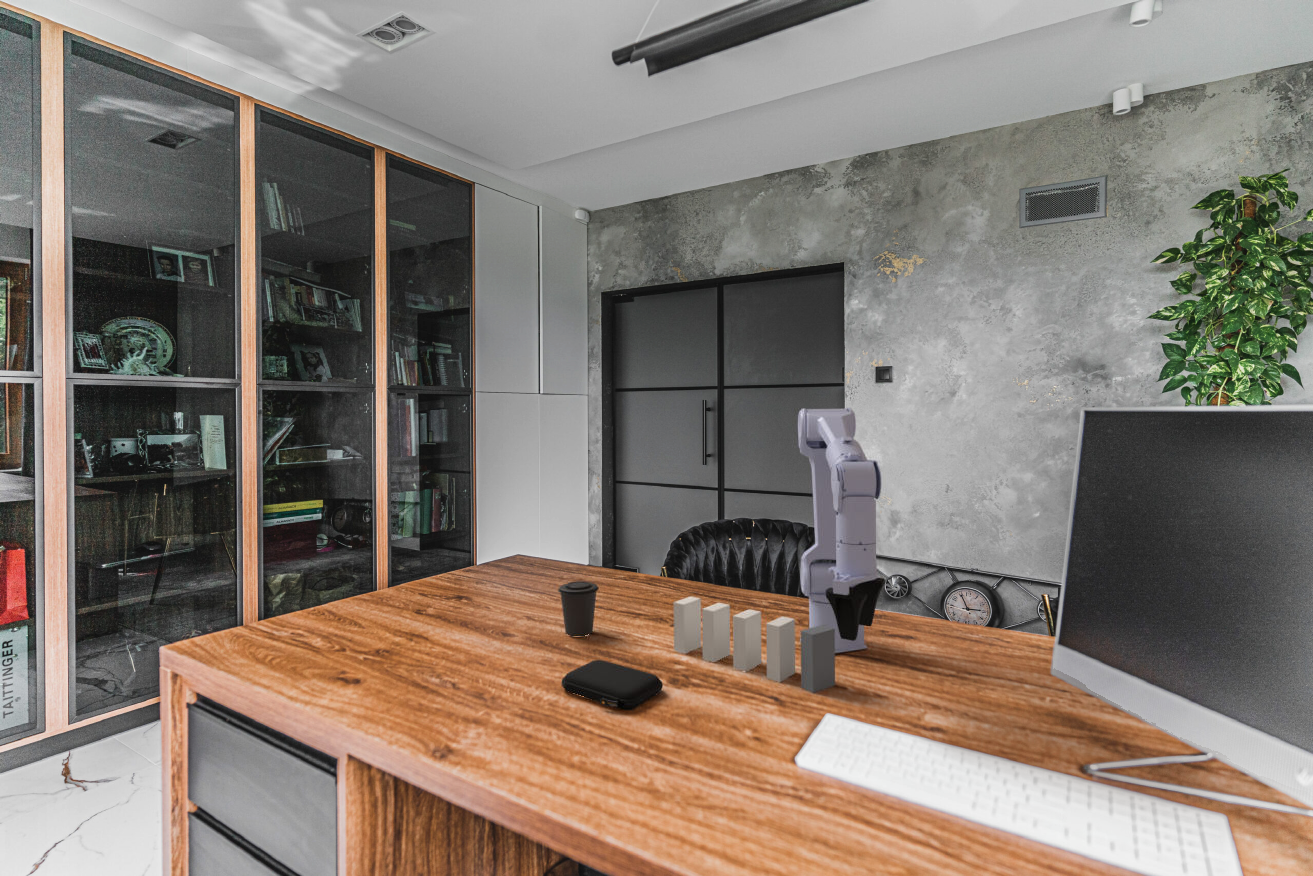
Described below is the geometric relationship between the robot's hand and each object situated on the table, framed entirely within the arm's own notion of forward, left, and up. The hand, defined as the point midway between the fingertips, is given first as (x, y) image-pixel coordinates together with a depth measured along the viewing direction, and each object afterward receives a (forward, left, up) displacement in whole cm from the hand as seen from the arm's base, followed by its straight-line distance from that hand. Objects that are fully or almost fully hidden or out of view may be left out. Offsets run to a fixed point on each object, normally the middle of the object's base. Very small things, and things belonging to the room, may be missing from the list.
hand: (856, 631), depth 94 cm
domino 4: (+6, -11, -10) cm, 16 cm away
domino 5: (+3, -6, -10) cm, 12 cm away
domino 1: (+16, -28, -10) cm, 34 cm away
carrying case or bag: (+34, -15, -11) cm, 39 cm away
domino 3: (+10, -17, -10) cm, 22 cm away
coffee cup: (+33, -44, -10) cm, 56 cm away
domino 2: (+13, -23, -10) cm, 28 cm away
